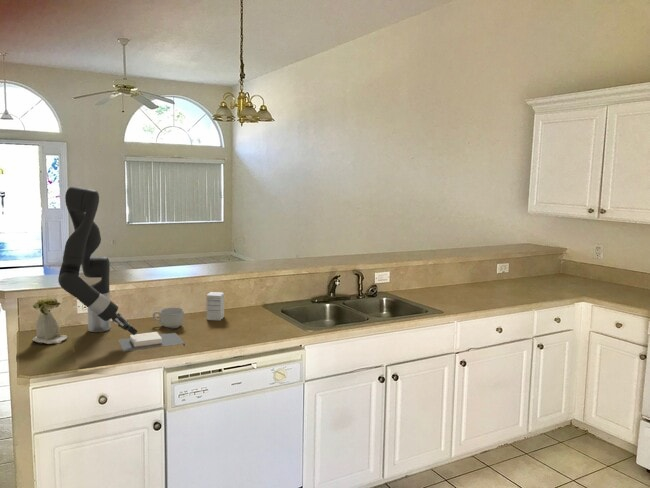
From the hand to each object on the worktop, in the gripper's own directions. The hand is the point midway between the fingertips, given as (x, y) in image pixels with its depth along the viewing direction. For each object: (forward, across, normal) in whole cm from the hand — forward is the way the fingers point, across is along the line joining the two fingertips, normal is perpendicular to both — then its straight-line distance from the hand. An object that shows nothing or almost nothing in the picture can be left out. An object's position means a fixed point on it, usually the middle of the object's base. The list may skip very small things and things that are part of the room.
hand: (135, 332), depth 211 cm
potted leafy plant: (-18, +21, +26) cm, 38 cm away
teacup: (+17, +21, -9) cm, 28 cm away
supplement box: (+34, +26, -26) cm, 50 cm away
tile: (+1, 0, +3) cm, 3 cm away
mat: (+8, 0, -1) cm, 8 cm away
